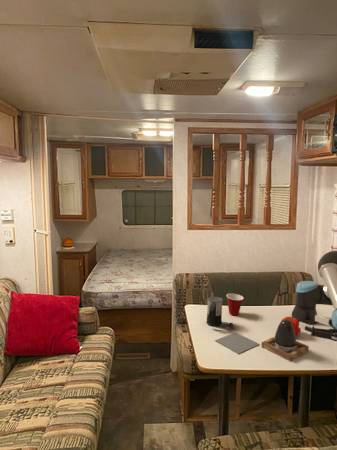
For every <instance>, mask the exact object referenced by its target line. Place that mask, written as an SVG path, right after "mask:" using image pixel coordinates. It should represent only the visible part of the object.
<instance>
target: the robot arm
mask: <svg viewBox="0 0 337 450" xmlns="http://www.w3.org/2000/svg"><path fill="white" fill-rule="evenodd" d="M318 260H319V261H318V263H317V271H318V275H319V276H320V277H321V278H322V279H323V281H324V284H318V282H316V281H313V280H312V281H311V280H302V281H299V282H298V283H297V284H296V288H295V300H294V301H295V303H294V307H293V309H292V311H291V316H290V317H292V318H296V319H297V320H298V321H299V328H301V330H304V331H306V332H309V333H310V334H311V335H310V336H311V337H316V338H321V339H325V340H329V341H333V342H337V250H331V251H328V252H326V253H324V254H323V255H322V256H321V257H320V259H318ZM317 305H324V306H333V308H334V310H332V312H331V319H329V318H326V317H323V316H320V315H318V312H317ZM317 323H320V324H323V325H325V326H329V327H330V328H329V329H328V328H318V327H315V326H314V325H315V324H317Z"/></svg>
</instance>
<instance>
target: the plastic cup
mask: <svg viewBox="0 0 337 450" xmlns="http://www.w3.org/2000/svg"><path fill="white" fill-rule="evenodd" d="M243 300H244V296H243V295H240V294H236V293H227V294H226V301H227V307H228V308H227V309H228V313H229V315H230V316H231V317H232V316H233V317H238V316H239V314H240V310H241V307H242V302H243Z"/></svg>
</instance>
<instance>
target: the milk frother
mask: <svg viewBox="0 0 337 450" xmlns="http://www.w3.org/2000/svg"><path fill="white" fill-rule="evenodd" d="M206 300H207V306H206V307H207V312H206V324H207V325H208V326H210V327H211V326H212V327H219V326H223V327H229V328H233V327H235V326H236V325H235V324H234V322H229V323H223V322H222V321H223V319H222V318H223V317H222V316H223V315H222V314H223V301H224V300H223V298H222V297H218V296H209V297H207V298H206Z"/></svg>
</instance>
